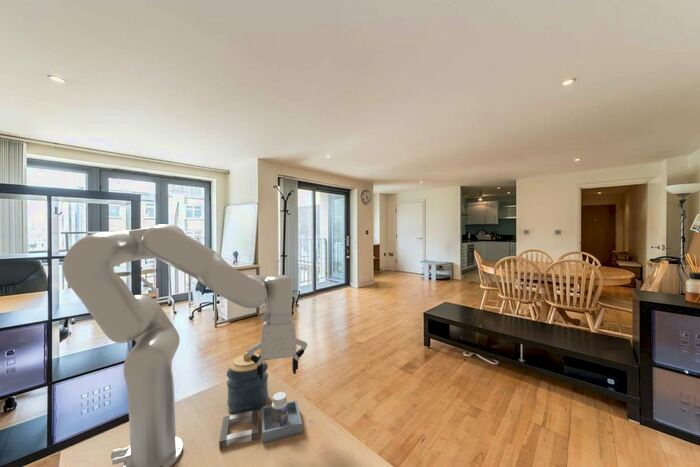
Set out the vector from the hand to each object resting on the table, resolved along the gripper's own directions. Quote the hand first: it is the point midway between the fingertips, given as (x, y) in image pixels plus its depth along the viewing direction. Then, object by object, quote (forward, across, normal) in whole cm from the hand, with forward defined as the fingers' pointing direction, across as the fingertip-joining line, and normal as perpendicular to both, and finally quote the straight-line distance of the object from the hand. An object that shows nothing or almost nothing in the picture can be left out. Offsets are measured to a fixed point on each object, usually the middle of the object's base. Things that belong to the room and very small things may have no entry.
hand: (277, 374), depth 82 cm
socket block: (+16, -10, +2) cm, 19 cm away
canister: (+16, -8, +14) cm, 23 cm away
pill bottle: (+15, +1, 0) cm, 15 cm away
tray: (+16, +1, 0) cm, 16 cm away
